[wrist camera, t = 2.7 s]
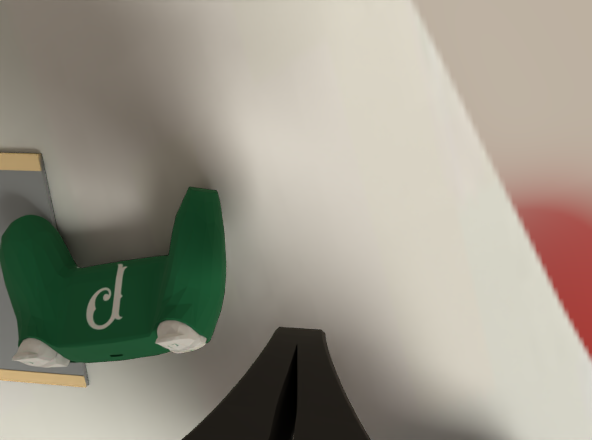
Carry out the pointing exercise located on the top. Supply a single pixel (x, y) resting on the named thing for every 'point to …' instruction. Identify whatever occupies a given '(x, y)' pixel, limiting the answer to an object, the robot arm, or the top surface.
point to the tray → (3, 324)
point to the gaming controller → (116, 291)
